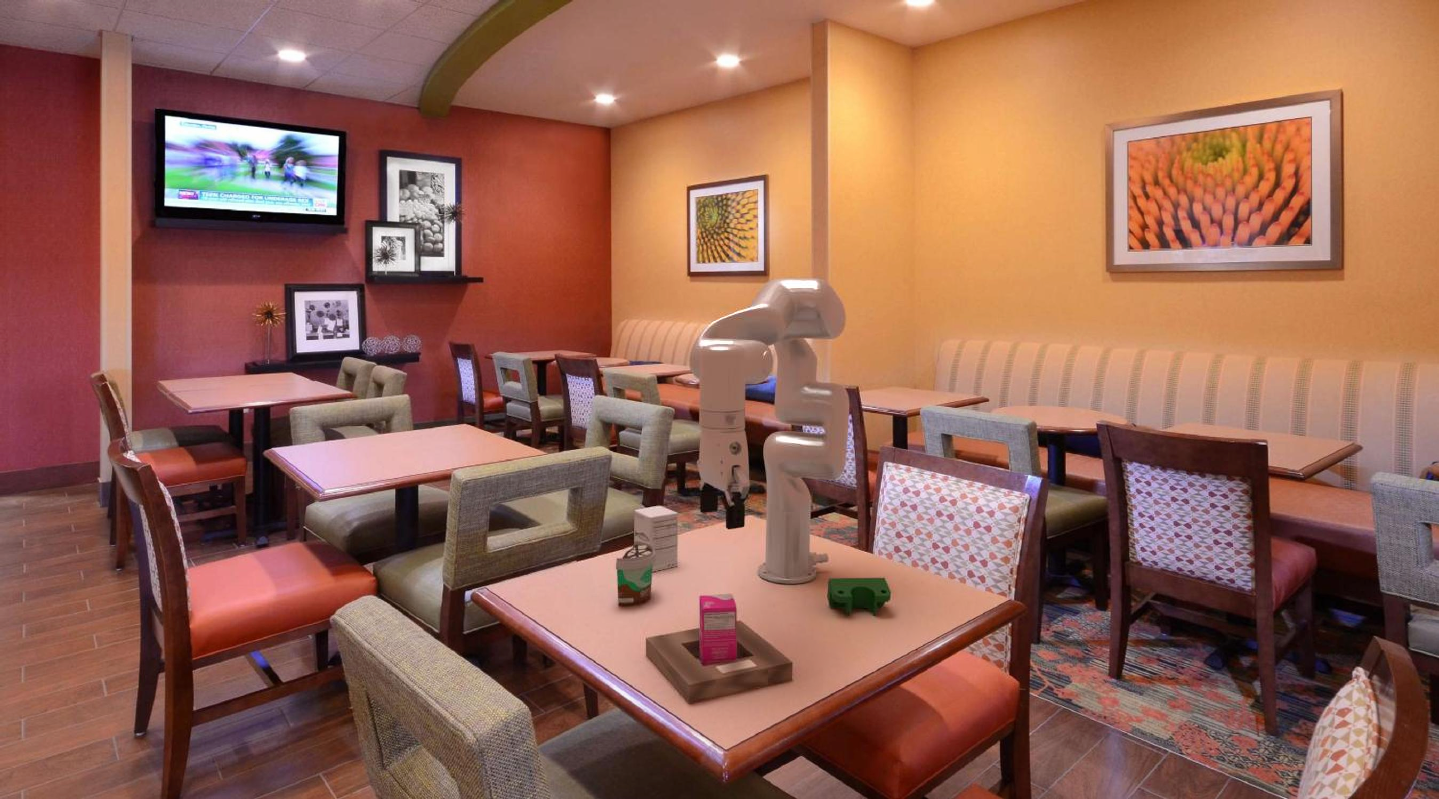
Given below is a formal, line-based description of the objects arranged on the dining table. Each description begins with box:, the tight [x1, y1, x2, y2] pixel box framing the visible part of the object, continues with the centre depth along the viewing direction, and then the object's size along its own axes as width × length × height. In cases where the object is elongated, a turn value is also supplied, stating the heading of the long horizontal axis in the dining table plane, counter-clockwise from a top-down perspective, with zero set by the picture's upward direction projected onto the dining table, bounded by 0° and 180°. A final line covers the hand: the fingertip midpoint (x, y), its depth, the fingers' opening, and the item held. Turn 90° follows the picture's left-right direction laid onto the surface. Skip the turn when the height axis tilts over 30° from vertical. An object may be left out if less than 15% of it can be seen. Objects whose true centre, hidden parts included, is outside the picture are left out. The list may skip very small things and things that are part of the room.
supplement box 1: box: [633, 505, 679, 573], centre depth 181 cm, size 7×7×13 cm
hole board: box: [645, 619, 794, 705], centre depth 133 cm, size 18×18×3 cm
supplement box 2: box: [698, 593, 738, 666], centre depth 133 cm, size 6×6×12 cm
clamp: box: [826, 577, 892, 617], centre depth 157 cm, size 12×6×9 cm
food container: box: [615, 540, 657, 607], centre depth 161 cm, size 12×6×10 cm, turn 168°
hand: (721, 519), depth 136 cm, fingers open, 9 cm apart
